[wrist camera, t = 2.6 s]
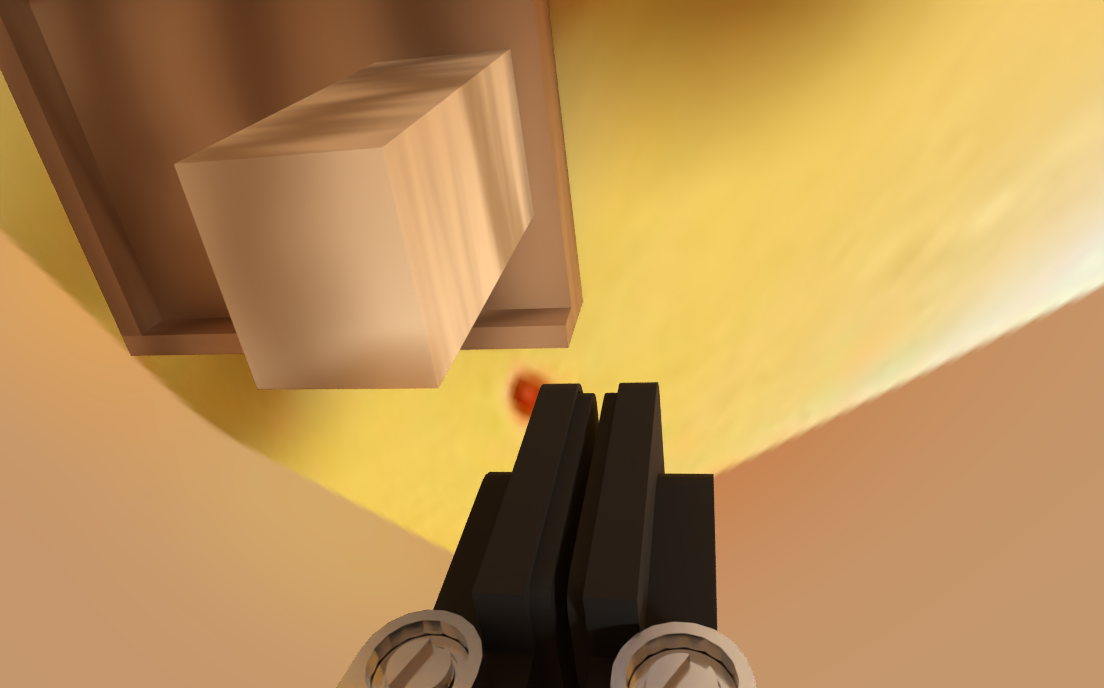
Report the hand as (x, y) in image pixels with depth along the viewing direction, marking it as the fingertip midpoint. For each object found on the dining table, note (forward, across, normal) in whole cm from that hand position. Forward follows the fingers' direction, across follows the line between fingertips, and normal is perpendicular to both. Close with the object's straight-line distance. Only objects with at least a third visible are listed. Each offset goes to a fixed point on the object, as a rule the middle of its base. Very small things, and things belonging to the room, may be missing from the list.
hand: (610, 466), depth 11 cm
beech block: (+18, +8, -1) cm, 20 cm away
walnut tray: (+21, +14, -1) cm, 25 cm away
